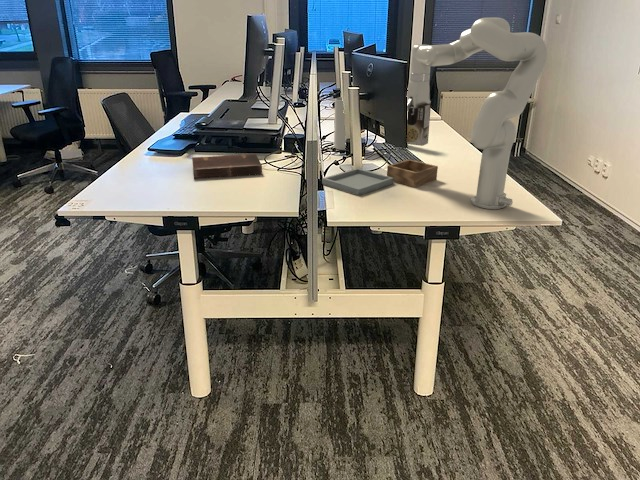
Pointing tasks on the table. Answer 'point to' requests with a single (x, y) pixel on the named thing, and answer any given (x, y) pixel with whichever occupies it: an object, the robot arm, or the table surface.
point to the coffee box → (419, 126)
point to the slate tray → (357, 181)
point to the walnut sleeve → (412, 173)
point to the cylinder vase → (339, 125)
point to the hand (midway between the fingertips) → (416, 123)
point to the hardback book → (226, 166)
